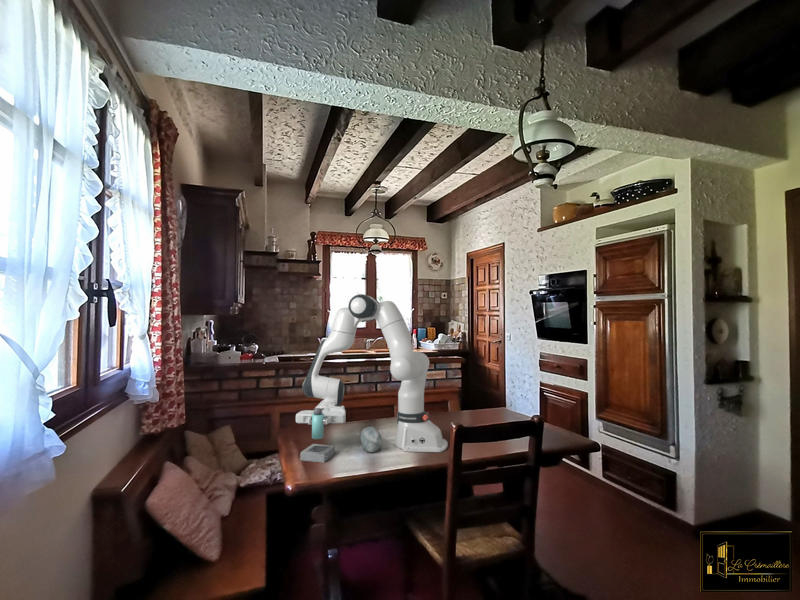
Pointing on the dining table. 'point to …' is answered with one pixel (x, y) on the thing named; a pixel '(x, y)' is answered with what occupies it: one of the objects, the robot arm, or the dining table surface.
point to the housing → (317, 453)
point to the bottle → (317, 424)
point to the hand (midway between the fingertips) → (317, 422)
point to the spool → (371, 439)
